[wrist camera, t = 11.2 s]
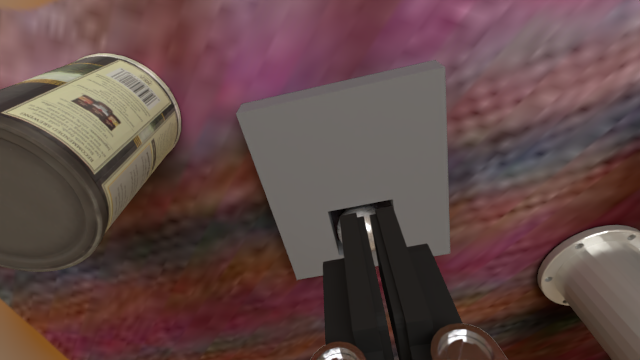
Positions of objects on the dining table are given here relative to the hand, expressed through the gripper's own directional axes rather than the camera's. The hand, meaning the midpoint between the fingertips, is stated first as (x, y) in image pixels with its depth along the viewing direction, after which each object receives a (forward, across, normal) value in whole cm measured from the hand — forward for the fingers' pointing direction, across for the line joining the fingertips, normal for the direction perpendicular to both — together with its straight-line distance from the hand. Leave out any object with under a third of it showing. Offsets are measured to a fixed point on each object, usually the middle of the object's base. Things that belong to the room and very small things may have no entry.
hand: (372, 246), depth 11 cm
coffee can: (+21, +19, -1) cm, 29 cm away
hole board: (+21, 0, +10) cm, 24 cm away
